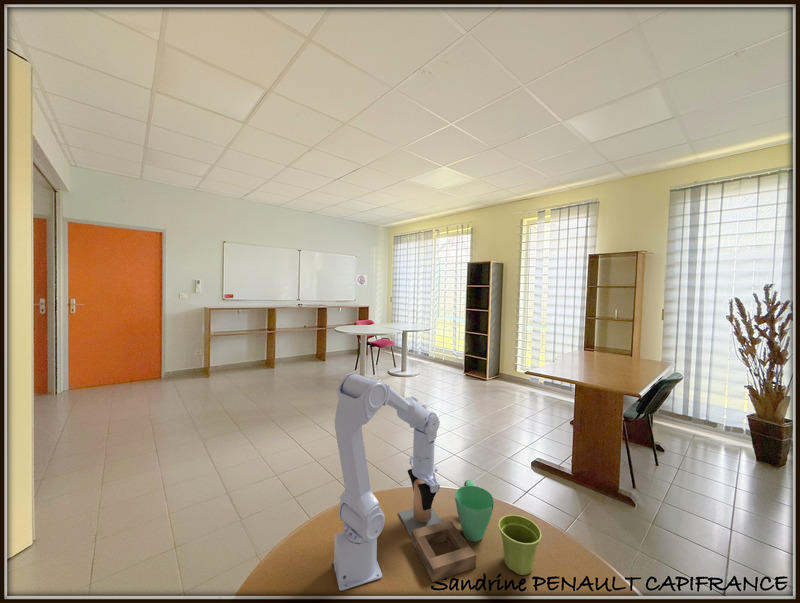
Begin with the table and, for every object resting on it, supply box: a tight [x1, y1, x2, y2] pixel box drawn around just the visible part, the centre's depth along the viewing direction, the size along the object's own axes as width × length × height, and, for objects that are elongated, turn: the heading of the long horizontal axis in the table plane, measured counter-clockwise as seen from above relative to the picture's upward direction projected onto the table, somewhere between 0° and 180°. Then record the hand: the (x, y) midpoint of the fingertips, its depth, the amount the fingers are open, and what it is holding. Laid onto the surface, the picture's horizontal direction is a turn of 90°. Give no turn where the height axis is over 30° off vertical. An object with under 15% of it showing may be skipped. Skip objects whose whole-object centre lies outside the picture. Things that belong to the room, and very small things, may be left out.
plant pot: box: [497, 514, 543, 576], centre depth 76 cm, size 9×9×9 cm
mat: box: [398, 507, 443, 537], centre depth 89 cm, size 10×10×1 cm
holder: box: [410, 519, 477, 583], centre depth 78 cm, size 11×12×3 cm
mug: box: [454, 479, 495, 542], centre depth 87 cm, size 15×10×10 cm
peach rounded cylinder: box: [412, 479, 433, 522], centre depth 89 cm, size 5×5×9 cm
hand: (422, 502), depth 89 cm, fingers closed on peach rounded cylinder, 5 cm apart
